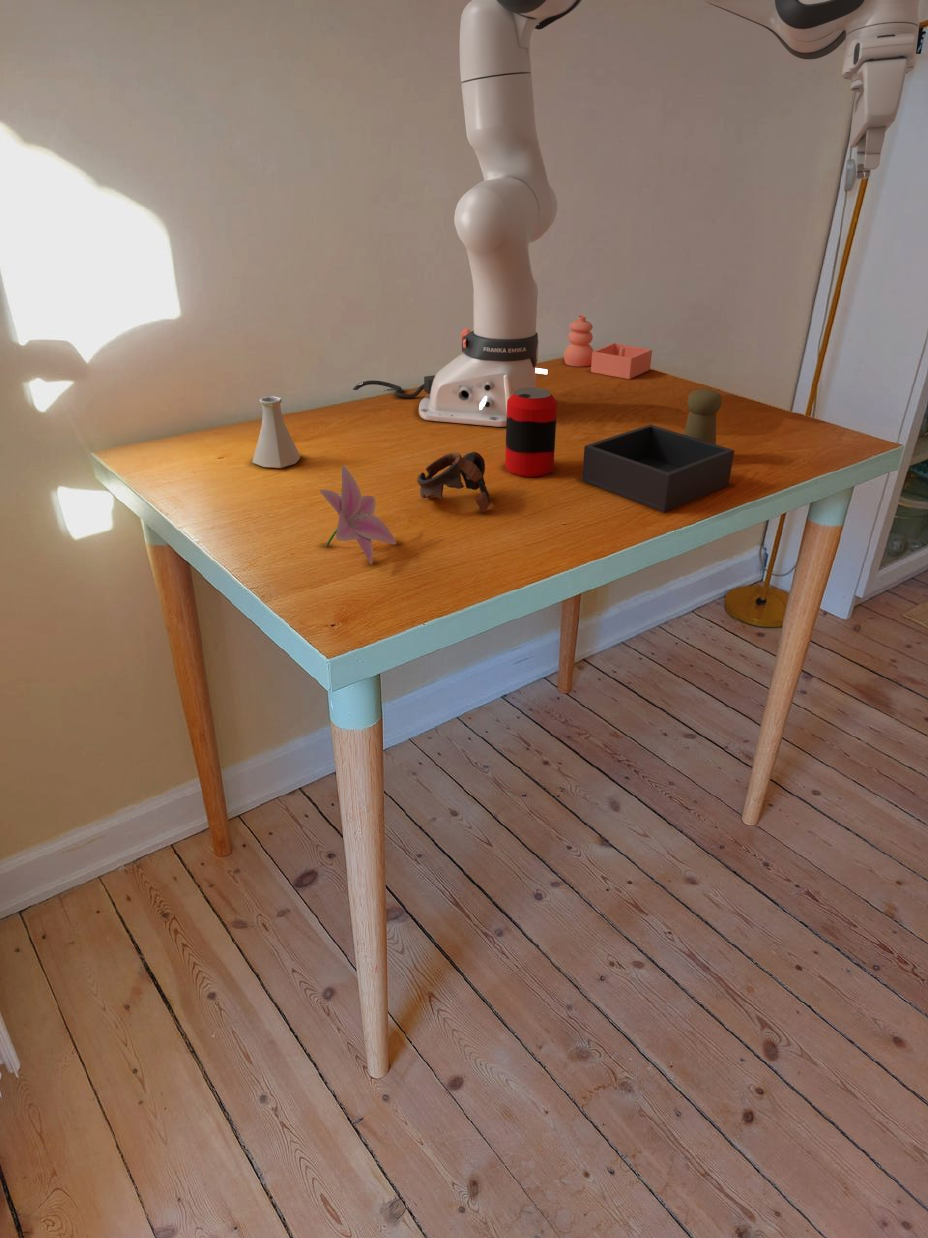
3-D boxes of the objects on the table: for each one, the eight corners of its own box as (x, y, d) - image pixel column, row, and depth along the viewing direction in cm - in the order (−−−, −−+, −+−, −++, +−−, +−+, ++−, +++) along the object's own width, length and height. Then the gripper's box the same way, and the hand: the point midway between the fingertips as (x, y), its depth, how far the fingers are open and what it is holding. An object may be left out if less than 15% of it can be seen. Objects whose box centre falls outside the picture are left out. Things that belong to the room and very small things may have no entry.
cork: (716, 466, 143) (726, 397, 137) (677, 463, 144) (686, 395, 138) (714, 453, 148) (725, 386, 142) (677, 450, 149) (686, 384, 143)
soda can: (495, 470, 140) (497, 394, 134) (522, 456, 146) (525, 382, 140) (536, 481, 137) (539, 403, 130) (562, 467, 142) (567, 391, 136)
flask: (308, 457, 145) (303, 395, 140) (282, 472, 139) (276, 408, 134) (271, 450, 147) (265, 390, 142) (244, 464, 142) (236, 402, 137)
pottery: (650, 369, 192) (655, 322, 187) (629, 379, 186) (634, 330, 181) (576, 356, 202) (580, 310, 197) (554, 364, 195) (557, 318, 190)
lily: (324, 586, 109) (360, 525, 105) (274, 523, 114) (306, 462, 109) (392, 580, 119) (427, 524, 114) (343, 522, 123) (375, 466, 119)
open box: (664, 512, 127) (669, 475, 124) (581, 481, 137) (584, 445, 134) (728, 485, 136) (734, 449, 133) (646, 457, 146) (650, 424, 143)
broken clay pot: (481, 525, 124) (450, 476, 120) (429, 538, 130) (399, 492, 126) (513, 475, 131) (485, 428, 128) (463, 490, 137) (435, 445, 134)
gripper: (845, 78, 129) (835, 184, 134) (862, 40, 111) (849, 164, 115) (893, 74, 128) (881, 181, 132) (918, 34, 109) (903, 161, 114)
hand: (866, 173), depth 124 cm, fingers open, 8 cm apart
